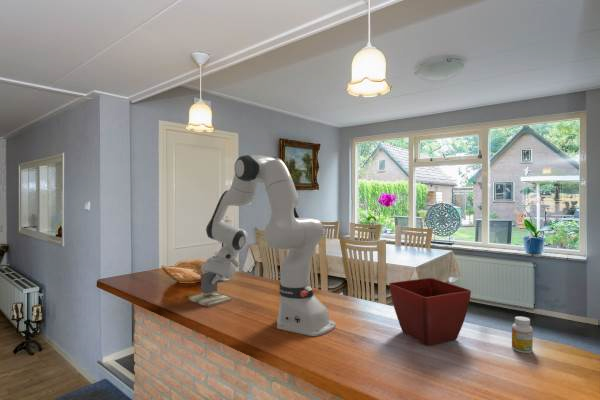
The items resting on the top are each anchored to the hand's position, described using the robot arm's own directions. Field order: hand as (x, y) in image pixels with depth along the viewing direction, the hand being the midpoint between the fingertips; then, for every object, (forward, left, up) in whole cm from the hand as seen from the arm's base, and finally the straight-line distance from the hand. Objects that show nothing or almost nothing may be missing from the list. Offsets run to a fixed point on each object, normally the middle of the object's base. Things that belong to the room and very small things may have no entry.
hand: (207, 282), depth 163 cm
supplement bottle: (-119, -31, -7) cm, 123 cm away
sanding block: (0, -1, -5) cm, 5 cm away
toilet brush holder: (+22, -26, -7) cm, 34 cm away
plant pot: (-93, -23, -7) cm, 96 cm away
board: (-3, +1, -7) cm, 8 cm away
